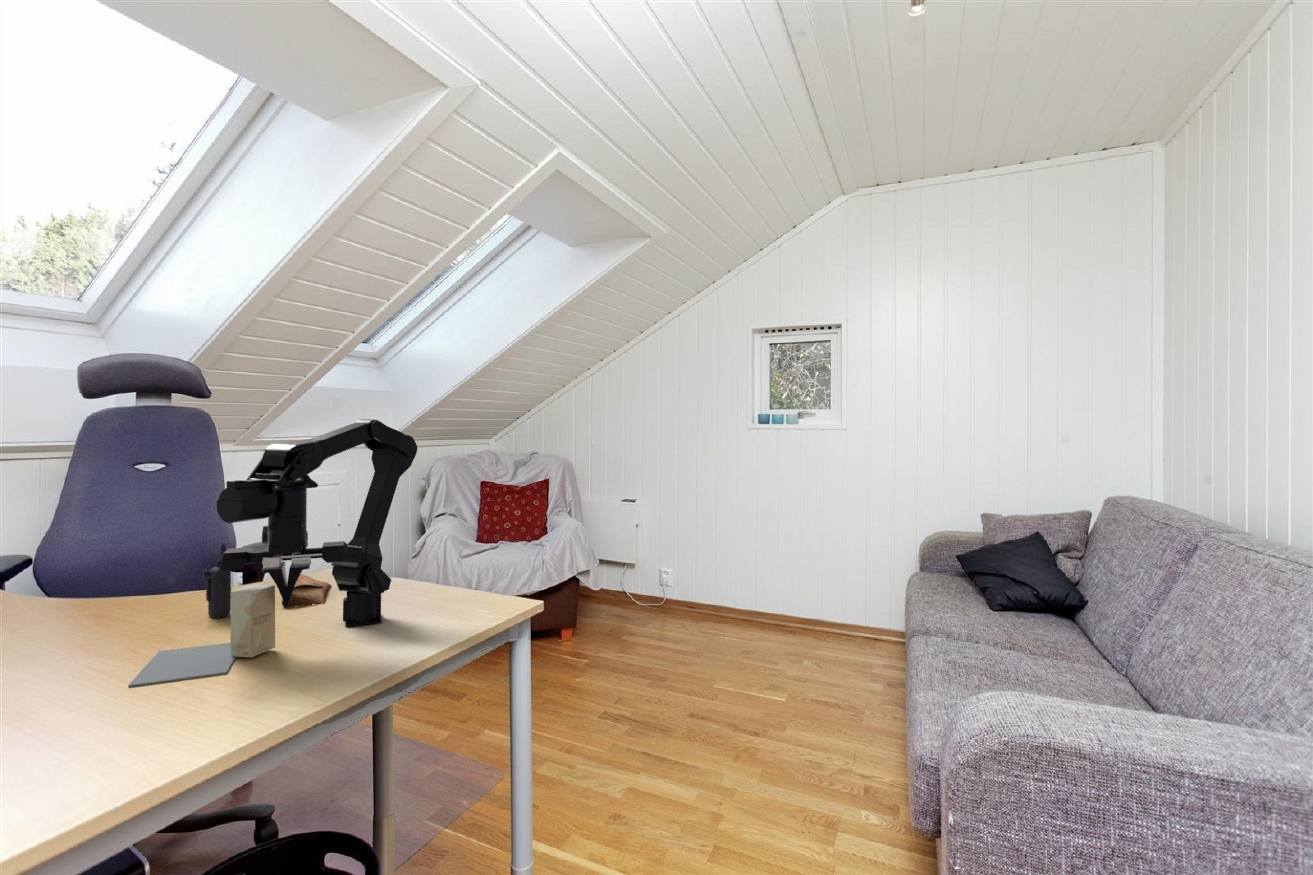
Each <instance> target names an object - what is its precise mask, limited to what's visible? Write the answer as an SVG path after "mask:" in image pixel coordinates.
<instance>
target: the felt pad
mask: <svg viewBox="0 0 1313 875" xmlns="http://www.w3.org/2000/svg"><path fill="white" fill-rule="evenodd" d="M236 657H237V656H231V642H225V643H215V644H208V645H199V646H191V647H182V648H176V649H175V648H174V649H165V650H158V651H157V652H156V654H155V655H154V656H153V657H152V658H151V660H149V661H148V663H147V664H146V665H145V666H144V667H143V668H142V669H141V670H140V671H139V672H138V674H137V675H136V676H135V677H133V679H132V681H130V683H129V684H128V685H127V686H128V688H132V687H133V688H134V687H139V686H141V687H142V686H149V685H154V684H162V683H170V682H177V681H183V680H191V679H198V678H205V677H212V676H219V675H227V674H228V673H229V670H230V669H231V667H232V665H233V663H234V661H235V659H236Z"/></svg>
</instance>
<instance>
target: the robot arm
mask: <svg viewBox="0 0 1313 875" xmlns="http://www.w3.org/2000/svg"><path fill="white" fill-rule="evenodd" d="M360 445H364V447H365V448H367V449H368V450H370V451H371V452H372V454H371V459H370V460H371V462H372V466H373V470H374V473H373V476H372V480H371V482H370V485H369V489H368V492H367V495H366V498H365V501H364V504H363V507H362V509H361V513H360V516H359V519H358V522H357V525H356V529H355V532H354V534H353V537H352V539H351V540H350V541H349V542H348V543H347V542H346V541H344V540H343V541H330V542H329V541H327V542H323V543H322V547H311V548H310V547H308V545H309V543H308V541H309V532H308V530H307V519H308V518H307V517H308V516H307V513H308V512H307V507H308V506H307V504H308V502H307V501H308V500H307V497H308V496H307V495H308V493H307V492H308V489H316V488H318V487H319V483H317V482H316V481H315V480H313V479H312V478H311V477H310V476H309V474H310V473H313V472H314V471H315V470H317V469H318V468H320V467H321V466H322V464H323V462H324V461H325V460H328V458H332V457H333V456H336V455H338V454H341V453H343V452H345V451H348V450H351V449H353V448H356V447H358V446H360ZM417 453H418V445H417V443H416V440H415V439H414V437H413V436H411V435H409V434H405V433H404V432H403V431H402V432H401V431H400V430H397V429H395V428H393V427H390V426H389V425H386V424H384V422H382V421H380V420H378V419H365V418H364V419H363V418H362V419H358V420H356V421H354V422H353V423H350V424H348V425H345V426H342V427H340V428H337V429H334V430H332V431H329V432H326V433H323V434H320V435H317V436H315V437H312V438H309V439H302V440H291V441H284V442H277V443H272V444H270V445H267V447H266V448H264V453H263V454H262V458H261V459H260V461H259V462H258V463H257V465H256V466H255V467H254V468H253V470H252V472H251V473H250V475H248V477H247V478H246V480H245V479H244V480H241V479H240V480H239V479H238V480H237V479H229V480H227V481H226V488H224V489H223V490H222V491H221V493H220V494H219V495H218V499H217V500H216V511H217V513H218V516H219V518H220V519H221V520H222V521H223V522H224V523H226V524H233V523H234V524H235V523H241V522H249V521H256V520H257V521H258V520H264V519H267V525H264V526H263V527H262V531H261V532H262V533H261V544H262V545H264V546H267V550H266V551H265V550H264V551H263V550H262V551H254V550H253V547H252V546H250V547H249V546H248V547H236V548H235V547H232V548H227V549H226V551H225V552H224V553H223V554H222V555H221V556H219V559H218V560H219V571H229V570H231V571H239V570H243V568H245V567H246V566H248V564H256V563H257V564H259V563H261V565H263V566H262V568H261V573H262V574H263V573H264V574H267V573H268V574H269V576H270V578H271V579H272V580H273V582H274V583H275V585H276V587H277V590H278V592H279V594H280V596H281V598H282V600H283V601H284V603H285V605H288V604H289V601H290V598H291V595H292V592H293V589H294V587H295V584H296V582H297V580H298V578H299V576H300V574H302V572H303V570H309V569H310V567H311V564H312V559H322V560H323V561H324V562H326V563H327V564H329V563H330V565H331V566H332V570H331V575H332V577H333V578H334V580H335V583H336V585H337V588H338V591H340V592H342V591H343V592H346V597H343V599H342V600H343V601H342V621H343V622H345V626H344V627H355V626H356V627H357V626H365V625H373V624H380V623H382V622H383V619H382V618H383V617H382V594H384V593H385V592H386V591H389V590H390V587H391V583H392V578H391V577H389V576H388V574H386V572H385V571H384V570H383V569H382V568H381V567H382V564H383V553H382V550H381V546H380V541H381V538H382V535H383V531H384V529H385V525H386V522H387V519H388V515H389V512H390V509H391V505H392V503H393V500H394V496H395V493H396V490H397V487H398V483H399V481H400V477H401V476H402V475H403V474H405V473H406V472H407V471H408V470H409V469H410V468H411V467H412V464H413V462H414V460H415V458H416V456H417ZM307 547H308V548H307ZM286 561H291V564H290V566H289V570H288V577H287V572H286Z"/></svg>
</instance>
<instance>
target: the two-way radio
mask: <svg viewBox="0 0 1313 875" xmlns="http://www.w3.org/2000/svg"><path fill="white" fill-rule="evenodd" d="M226 546H227V545H226V544H225V543H221V544H220V552H219V553H220V554H219V555H220V556H221V555H222V554H223V553H224V552H225V551H226V550H227V548H226ZM220 556H219V557H220ZM202 576H203V578H204V581H205V592H206V593H205V600H206V601H207V602H208V603H207V604H208V605H207V609H208V610H207V612H208V613H207V614H208V616H209V617H210V618H216V619H220V618H226V617H229V616H231V591H232V586H231V584H232V570H229V571H219V559H217V560H216V564H215V566H213V567H212V568H210V569H209V570H207V569H205V570H202Z"/></svg>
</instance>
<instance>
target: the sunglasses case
mask: <svg viewBox="0 0 1313 875" xmlns="http://www.w3.org/2000/svg"><path fill="white" fill-rule="evenodd" d="M330 586H331V587H332V585H331V584H330V583H329V582H325V581H320V580H317V579H314V578H312V577H310V576H309V575H305V574H302V573H301V574H300V576H299V578H298V580H297V582H296V584H295V587H294V589H293V592H292V595H291V598H290V601H289V604H288V605H285V603H284V601H283V599H282V601H281V606H282V607H284V609H289V608H291V607H292V608H296V607H295V606H301V607H303V606H302V605H311V606H313V605H312V604H320V605H325V602H326V601H325V600H326V598H325V597H326V596H327V593H328V591H329V589H330V588H331V587H330Z"/></svg>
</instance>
